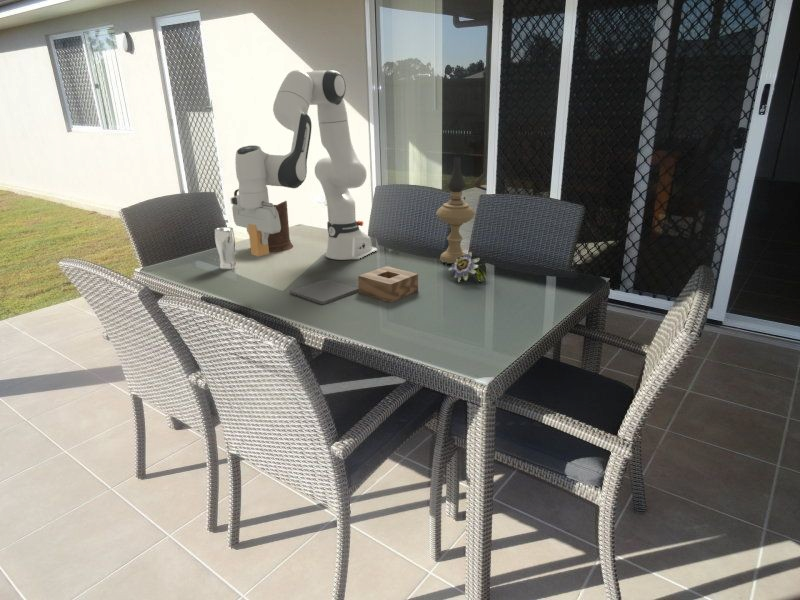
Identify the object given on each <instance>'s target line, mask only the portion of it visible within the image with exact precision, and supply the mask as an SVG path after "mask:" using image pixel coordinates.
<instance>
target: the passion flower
mask: <svg viewBox="0 0 800 600" xmlns="http://www.w3.org/2000/svg"><path fill="white" fill-rule="evenodd" d="M466 254H467V255H466ZM466 254H465V255H461V256H459V257H457V259H456V260H455V261H456V262H455V263H454V264H452V265H451V266H450V267H448V268H447V271H450V272H453V273H454V275H453V279H457V281H458V280H459V281H460V280H461V281H462V280H464V281H468V280H469V275H471V274H472V275H475V276H476V279H477V281H478V282H479V280H480V281H482V282H483V279H484V280H486V273H485V271H484V270H483V269H482V268H481V267H480V266H482V265H484V268H485V270H488V266H487V263H486V262H485V263H482V264H476V263H478V262H479V261H480V259H481V258H479V257H475V258H472V257H473V253H472V251H469V252H468V253H466ZM461 281H460V282H461Z"/></svg>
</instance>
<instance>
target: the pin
mask: <svg viewBox="0 0 800 600" xmlns="http://www.w3.org/2000/svg"><path fill="white" fill-rule="evenodd" d="M248 229H249V234H248V236H249V244H250V248H251V250H250V253H251V255H254V256H256V257H262V256H266V255H269V254H270V253H269V247H268V244H266V245H263V244H261V241H260V239H262V234H261V231H257V229H256V225H251V224H248Z"/></svg>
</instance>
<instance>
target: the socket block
mask: <svg viewBox="0 0 800 600" xmlns="http://www.w3.org/2000/svg"><path fill="white" fill-rule="evenodd" d="M357 279H358V289H359V292H358V293H359V294H360V295H361V294H362V295H365V296H368V297H371V298H375V299H378V300H381V301H385V302H388V303H392V302H395V301H398V300H400V299H403V298H405V297H406V296H409V294H410V295H411V293H412V294H414V292H415V293H416V291H417V292H418V291H419V273H415V272H412V271H408V270H404V269H399V268H395V267H392V266H388V265H386V266H382V267H380V268H377V269H373V270H371V271H368V272H366V273H362V274H359V275H358V277H357Z"/></svg>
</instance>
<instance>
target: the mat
mask: <svg viewBox="0 0 800 600" xmlns="http://www.w3.org/2000/svg"><path fill="white" fill-rule="evenodd" d="M289 293H290V295H293V294H294V295H293V296H296V295H297V296H296V297H299V296H300V297H299V298H302V297H303V298H302V299H305V298H306V299H305V300H308V301H311V300H312V301H311V302H314V303H318V304H319V305H322V306H323V305H326V304H328V303H331V302H334V301H337V300H340V299H342V298H345V297H348V296H350V295H353V294H355V293H359V287H354V286H351V285H348V284H344V283H341V282H337V281H334V280H329V279H328V278H327V279H323V280H319V281H316V282H313V283H309V284H307V285H303V286H301V287H297V288H295V289H291V290H289Z"/></svg>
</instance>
